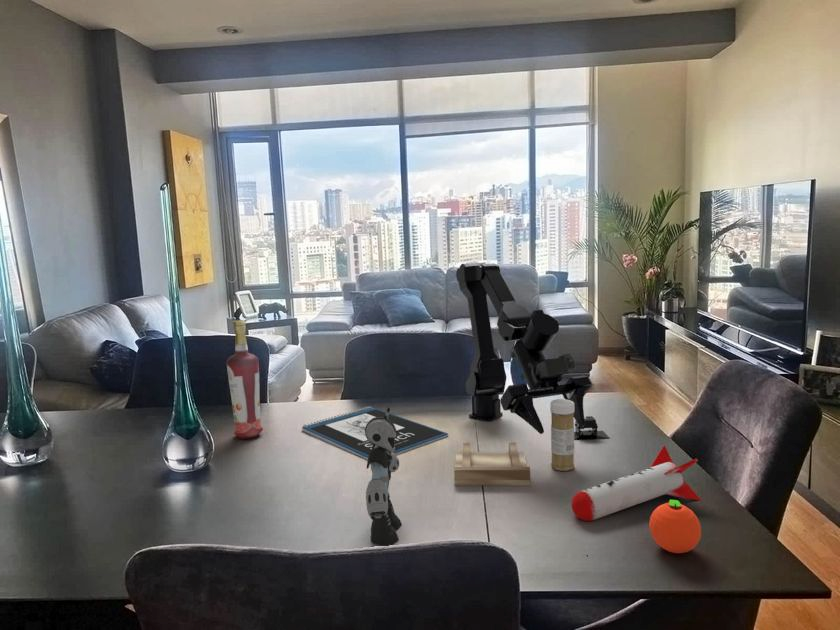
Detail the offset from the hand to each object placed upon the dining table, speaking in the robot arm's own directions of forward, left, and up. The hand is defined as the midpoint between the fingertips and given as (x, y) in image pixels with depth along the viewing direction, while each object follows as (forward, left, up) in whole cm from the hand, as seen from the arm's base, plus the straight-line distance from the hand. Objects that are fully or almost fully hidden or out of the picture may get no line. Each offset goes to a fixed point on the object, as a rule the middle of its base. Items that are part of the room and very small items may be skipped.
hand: (563, 429), depth 115 cm
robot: (-12, -39, -8) cm, 42 cm away
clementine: (+26, -18, -8) cm, 32 cm away
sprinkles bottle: (0, 0, -8) cm, 8 cm away
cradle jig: (-11, -9, -8) cm, 16 cm away
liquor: (-70, -24, -8) cm, 75 cm away
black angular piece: (-4, +20, -9) cm, 22 cm away
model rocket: (+16, -8, -8) cm, 20 cm away
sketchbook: (-46, -6, -9) cm, 47 cm away
